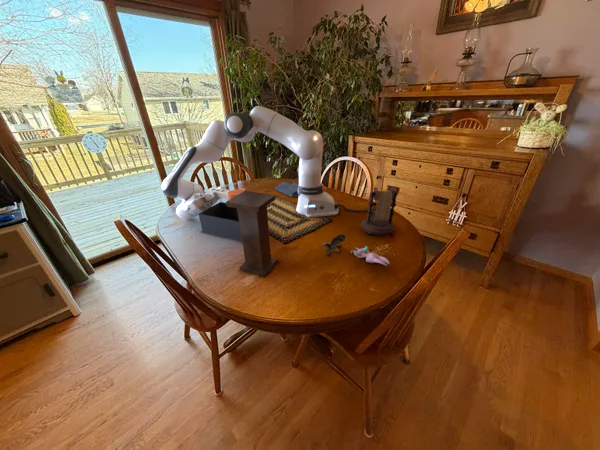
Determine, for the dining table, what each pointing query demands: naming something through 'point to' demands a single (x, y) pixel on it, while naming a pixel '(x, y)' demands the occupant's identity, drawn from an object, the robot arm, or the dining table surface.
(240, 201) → the stand
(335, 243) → the grey animal figurine
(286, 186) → the dark slate chunk
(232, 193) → the extension cord
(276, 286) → the dining table surface
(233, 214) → the compartment
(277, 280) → the dining table surface
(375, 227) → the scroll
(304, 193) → the robot arm
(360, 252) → the rabbit figure
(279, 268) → the dining table surface
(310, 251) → the dining table surface
